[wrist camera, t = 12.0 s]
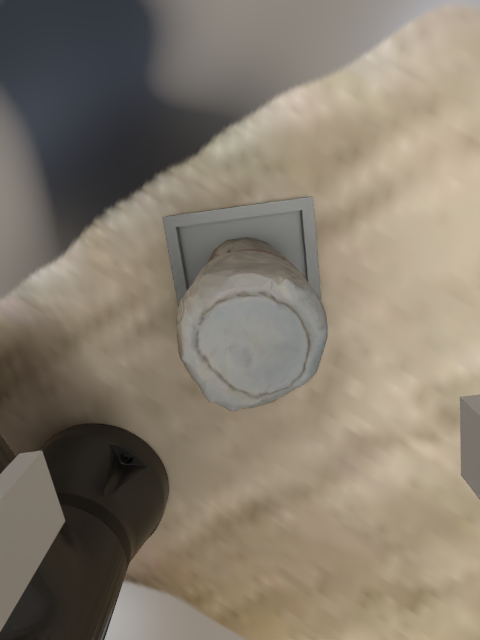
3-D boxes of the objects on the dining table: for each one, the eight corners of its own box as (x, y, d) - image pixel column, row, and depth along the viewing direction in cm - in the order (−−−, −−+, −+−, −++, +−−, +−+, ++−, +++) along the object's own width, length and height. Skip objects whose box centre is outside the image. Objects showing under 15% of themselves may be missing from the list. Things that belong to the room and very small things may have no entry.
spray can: (240, 213, 36) (225, 226, 17) (311, 268, 38) (372, 337, 18) (186, 287, 38) (120, 373, 19) (256, 338, 40) (258, 465, 20)
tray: (190, 349, 41) (187, 356, 39) (167, 216, 37) (162, 217, 35) (321, 334, 40) (324, 341, 38) (309, 196, 36) (312, 196, 35)
